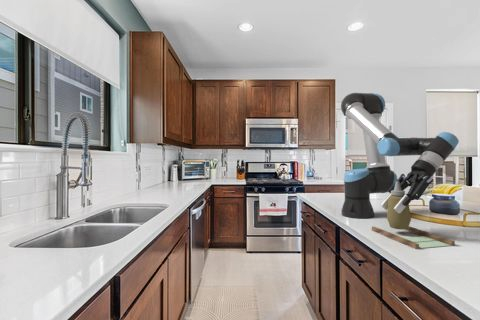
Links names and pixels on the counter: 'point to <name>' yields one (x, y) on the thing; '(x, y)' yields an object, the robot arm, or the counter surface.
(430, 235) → the rail
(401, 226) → the squeeze bottle
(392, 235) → the rail
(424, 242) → the pad
